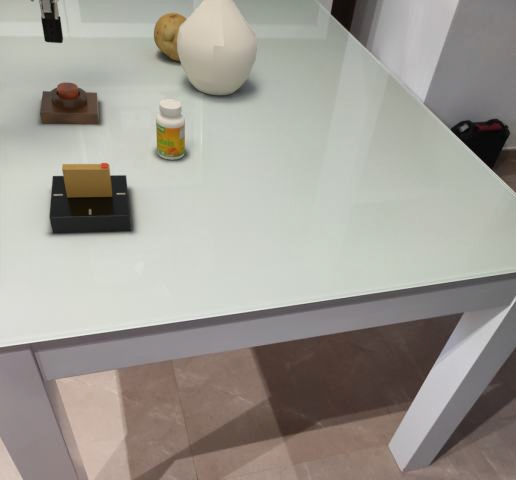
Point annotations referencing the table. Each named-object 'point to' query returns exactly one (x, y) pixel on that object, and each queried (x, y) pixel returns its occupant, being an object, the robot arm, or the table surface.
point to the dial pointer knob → (87, 180)
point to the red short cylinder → (67, 90)
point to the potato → (168, 34)
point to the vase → (216, 47)
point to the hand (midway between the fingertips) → (54, 40)
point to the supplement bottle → (170, 130)
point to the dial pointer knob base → (90, 209)
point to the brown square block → (69, 108)
